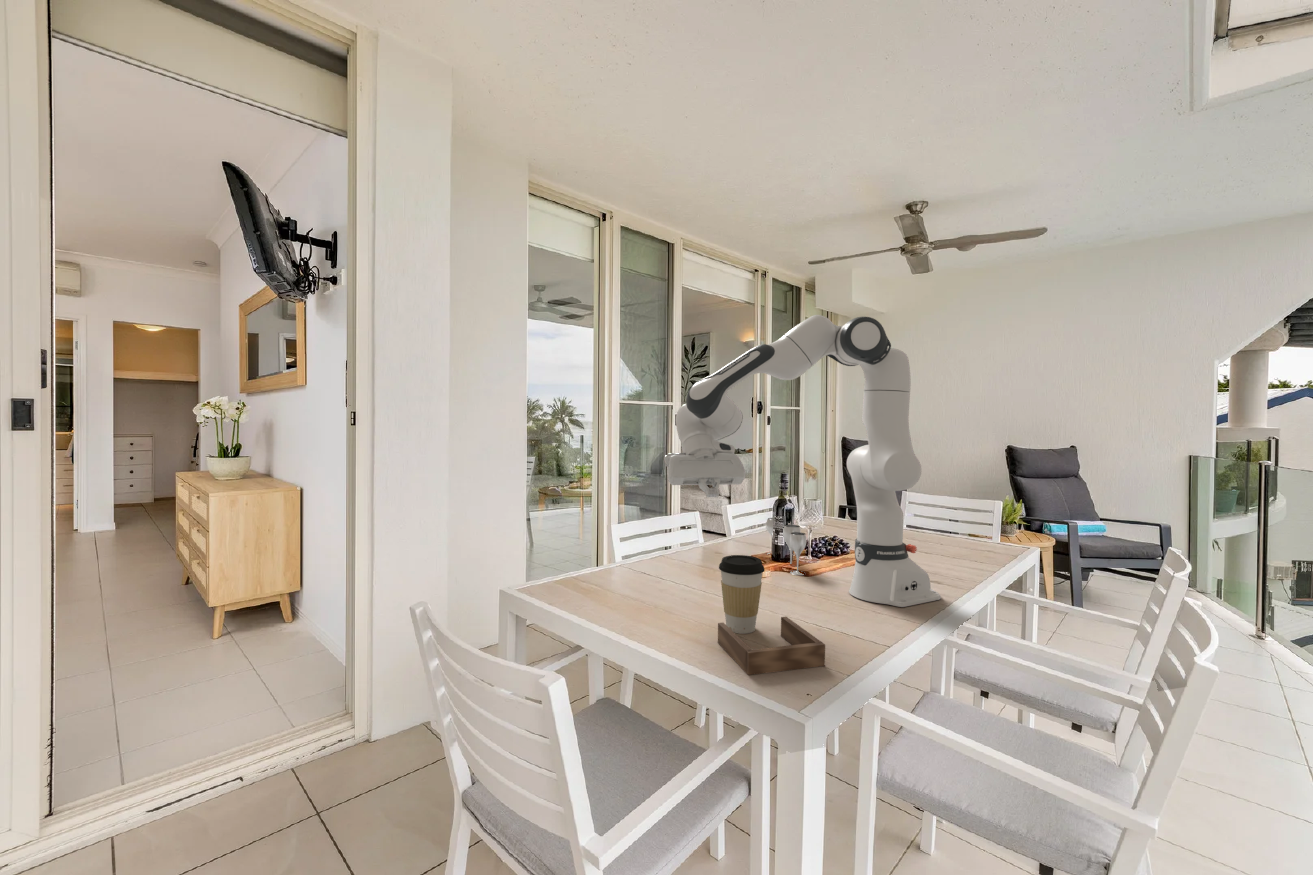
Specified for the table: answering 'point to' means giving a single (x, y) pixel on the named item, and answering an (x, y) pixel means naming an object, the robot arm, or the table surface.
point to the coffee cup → (741, 591)
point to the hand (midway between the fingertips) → (713, 495)
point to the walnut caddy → (775, 650)
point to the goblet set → (790, 540)
